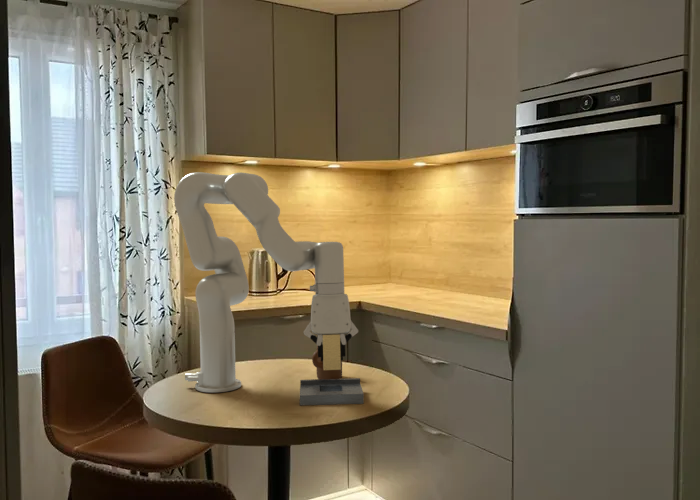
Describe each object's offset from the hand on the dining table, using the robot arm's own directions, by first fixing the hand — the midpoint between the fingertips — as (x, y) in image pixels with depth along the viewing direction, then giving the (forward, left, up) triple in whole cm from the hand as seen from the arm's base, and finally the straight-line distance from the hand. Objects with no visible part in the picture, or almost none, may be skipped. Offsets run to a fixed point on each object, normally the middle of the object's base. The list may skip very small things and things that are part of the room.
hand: (331, 358), depth 162 cm
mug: (-1, +20, -10) cm, 23 cm away
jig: (0, 0, -10) cm, 10 cm away
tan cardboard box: (0, 0, -2) cm, 2 cm away
